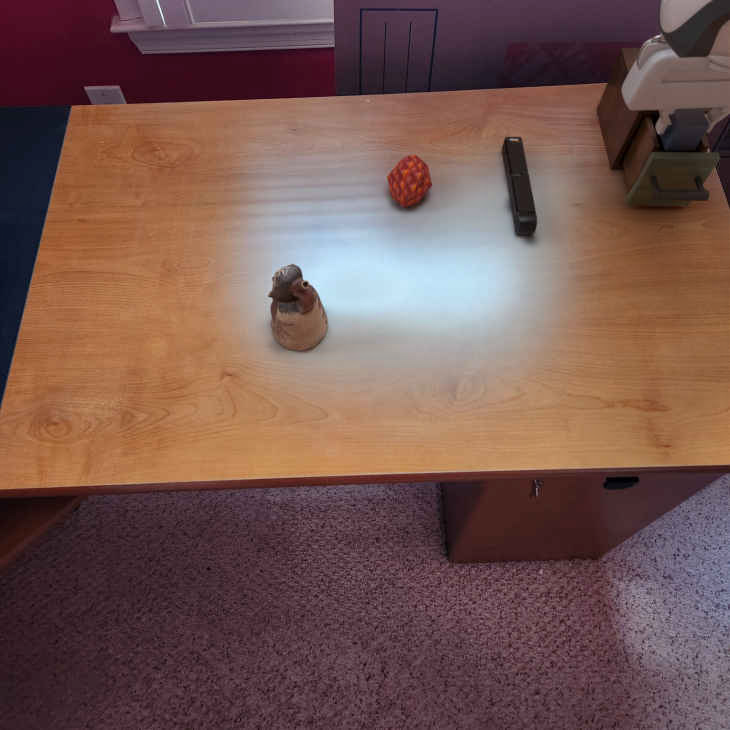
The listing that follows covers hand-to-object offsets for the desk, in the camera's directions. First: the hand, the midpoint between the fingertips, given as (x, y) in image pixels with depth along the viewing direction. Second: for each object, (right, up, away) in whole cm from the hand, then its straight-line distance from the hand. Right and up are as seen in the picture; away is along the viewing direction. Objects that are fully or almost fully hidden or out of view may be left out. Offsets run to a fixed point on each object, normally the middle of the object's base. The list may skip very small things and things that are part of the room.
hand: (681, 130), depth 77 cm
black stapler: (-20, -6, +9) cm, 23 cm away
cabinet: (0, +4, +14) cm, 15 cm away
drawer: (0, -5, +8) cm, 9 cm away
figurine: (-51, -27, -2) cm, 57 cm away
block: (0, -1, +2) cm, 2 cm away
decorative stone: (-36, -6, +9) cm, 38 cm away
